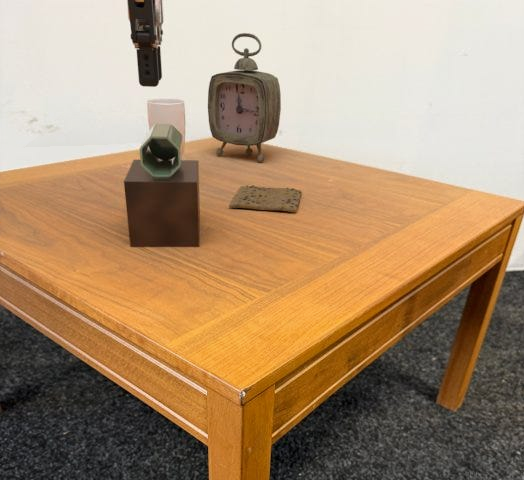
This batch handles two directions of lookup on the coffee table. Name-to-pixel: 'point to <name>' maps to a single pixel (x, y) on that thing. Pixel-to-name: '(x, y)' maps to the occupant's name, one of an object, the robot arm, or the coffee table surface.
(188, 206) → the block
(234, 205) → the cookie
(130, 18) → the robot arm
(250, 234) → the coffee table surface
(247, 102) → the tabletop clock
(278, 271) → the coffee table surface
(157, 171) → the cup
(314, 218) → the coffee table surface
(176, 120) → the drinking glass
